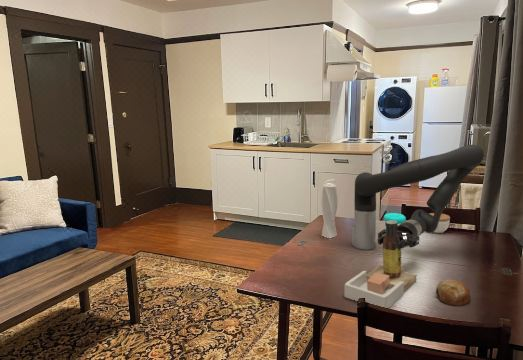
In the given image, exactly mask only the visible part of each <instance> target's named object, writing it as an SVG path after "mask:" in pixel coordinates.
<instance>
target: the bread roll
mask: <svg viewBox="0 0 523 360" xmlns="http://www.w3.org/2000/svg"><path fill="white" fill-rule="evenodd" d="M435 298H437V299H438V300H439V301H441V302H443V303H445V304H447V305H450V306H462V305H465V304H466V305H467V303H469V301H470V299H471V294H470V290H469V288H468V287H467V286H466V285H465V284H464V283H463V282H460V281H459V280H453V279H442V280H441V281H440V282H438V284H437V286H436V289H435Z"/></svg>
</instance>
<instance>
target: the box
mask: <svg viewBox="0 0 523 360" xmlns="http://www.w3.org/2000/svg"><path fill="white" fill-rule="evenodd" d="M367 274H368V271H367V270H363V271H361V272H360V273H358V274H356V275H355V276H354V277H352V278H351V279H350V280H348V281H346V282H345V284H344V289H343V290H344V293H343V294H344V295H343V297H344V298H346V299H348V300H352V301H354V300H355V302H357V301H358V299H359V298H365V300H366V302H368V303H370V304H374V305H378V306H381V307H385V308H388V309H389V308H390V307H391V306H392V305H393V304H395V303H396V301H398V300H399V299H400V298H401V297H402V296H403V295H404V293H403V290H404V282H402V281H400V282H399V283H397V284H396V285H395V286H394V287H393V288H391V289H390V288H385V289H384V293H383V294H382V295H381V294H378V293H375V292H372V291H369V290H367Z"/></svg>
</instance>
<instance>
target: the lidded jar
mask: <svg viewBox="0 0 523 360" xmlns="http://www.w3.org/2000/svg"><path fill="white" fill-rule="evenodd" d="M429 214H430V215H432V216H433V215H434V212H431V213H429ZM450 220H451V217H450V215H448V214H445V213H442V214H441V217H440V220H439V223H438V226H437V228H436V230H435V231H434V232H433V233H436V234H443V233H444V232H445V231H447V229H449V225H450V223H451V222H450Z"/></svg>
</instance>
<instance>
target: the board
mask: <svg viewBox="0 0 523 360" xmlns="http://www.w3.org/2000/svg"><path fill="white" fill-rule="evenodd" d="M376 273H381V274H384V270H383V265H381V264H380V265H378V266H377V267H374V269H372V270H371V271H369V272H367V281H368V280H369V279H370V278H371V277H373V276H374V275H375V274H376ZM400 281H402V282H404V290H403V294H404V293H406V292H407V291H408V290H409V289H410V288H411V287H412V286H413V285H415V283H416V282H417V274H414V273H410V272H406V271H402V270H401V275H400V276H399V277H389V285H388V286H387V287H386V288H390V289H391V288H393V287H394V286H395V285H396V284H397V283H399V282H400Z"/></svg>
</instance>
